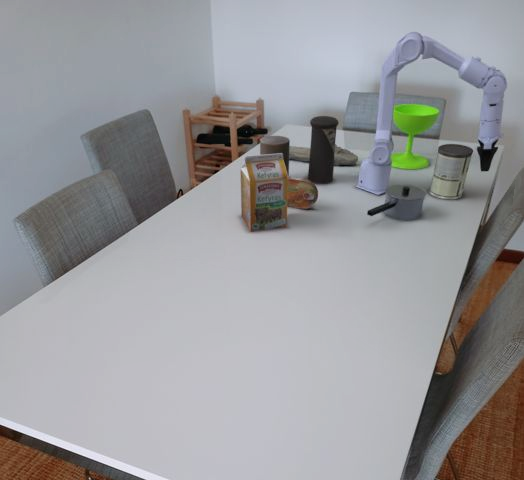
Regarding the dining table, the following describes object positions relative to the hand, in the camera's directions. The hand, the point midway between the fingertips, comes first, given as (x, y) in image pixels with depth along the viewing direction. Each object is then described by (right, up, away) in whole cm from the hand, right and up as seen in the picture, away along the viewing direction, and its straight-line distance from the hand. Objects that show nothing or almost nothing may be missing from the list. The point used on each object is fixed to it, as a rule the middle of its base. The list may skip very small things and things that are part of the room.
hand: (485, 166), depth 154 cm
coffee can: (-8, -5, +11) cm, 15 cm away
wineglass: (-14, +14, +35) cm, 40 cm away
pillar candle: (-64, +2, +19) cm, 66 cm away
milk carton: (-67, -19, -7) cm, 70 cm away
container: (-48, +3, +20) cm, 52 cm away
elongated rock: (-49, +16, +37) cm, 63 cm away
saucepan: (-29, -16, -4) cm, 34 cm away
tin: (-58, -11, +3) cm, 59 cm away
